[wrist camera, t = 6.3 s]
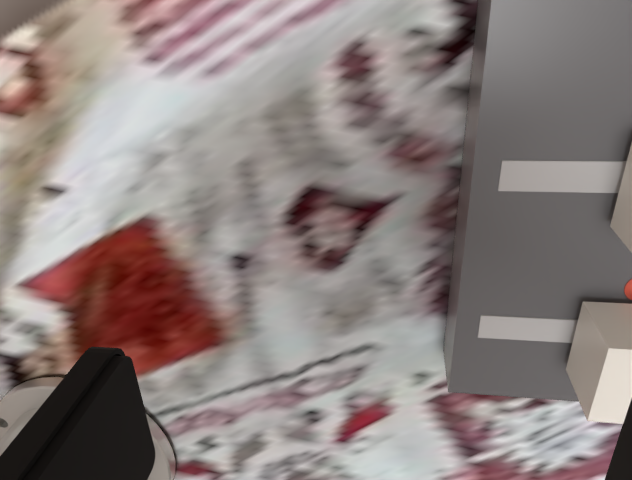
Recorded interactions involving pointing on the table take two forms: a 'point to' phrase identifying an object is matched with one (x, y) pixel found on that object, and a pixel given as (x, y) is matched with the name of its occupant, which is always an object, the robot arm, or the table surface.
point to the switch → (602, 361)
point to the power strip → (538, 192)
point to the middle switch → (624, 206)
